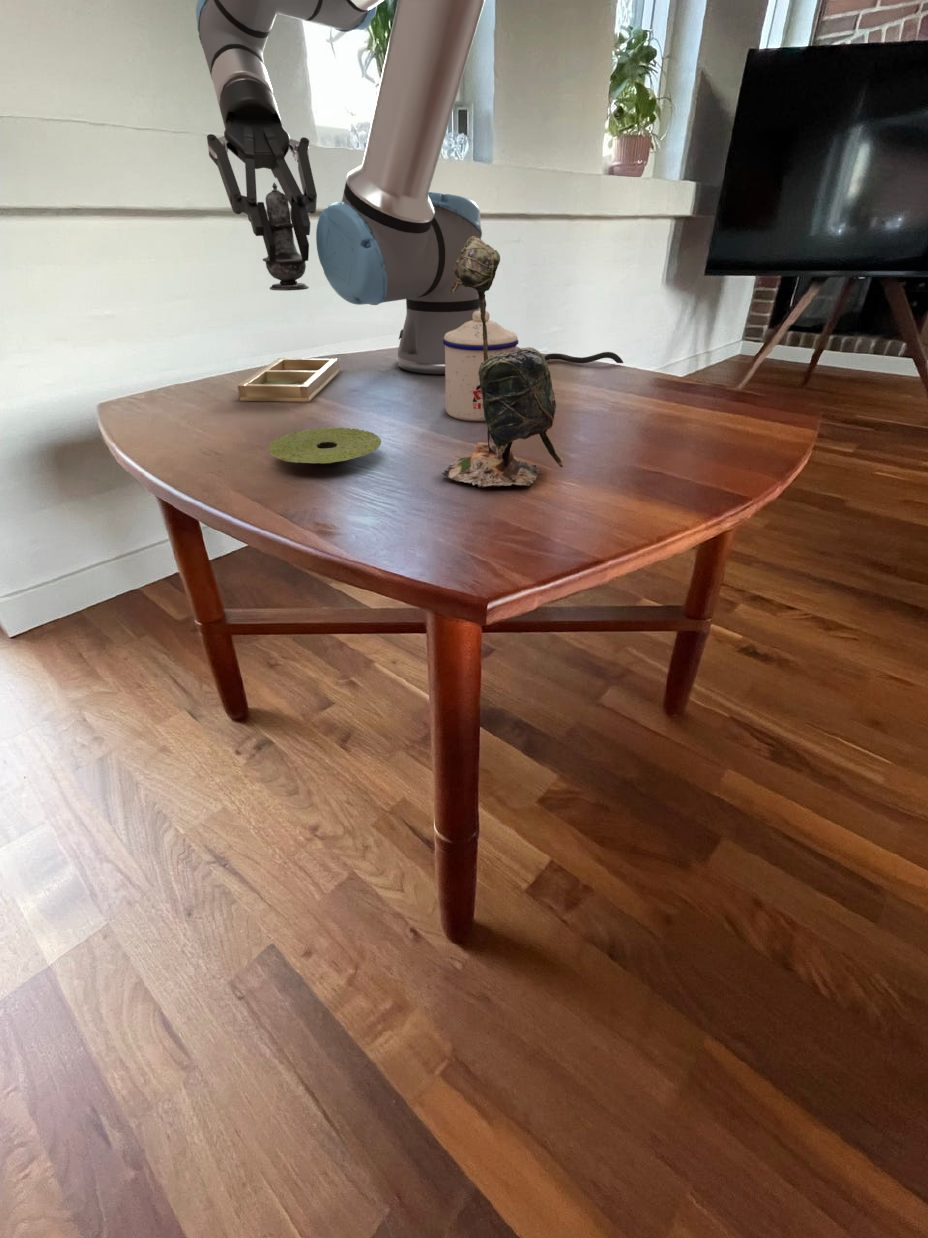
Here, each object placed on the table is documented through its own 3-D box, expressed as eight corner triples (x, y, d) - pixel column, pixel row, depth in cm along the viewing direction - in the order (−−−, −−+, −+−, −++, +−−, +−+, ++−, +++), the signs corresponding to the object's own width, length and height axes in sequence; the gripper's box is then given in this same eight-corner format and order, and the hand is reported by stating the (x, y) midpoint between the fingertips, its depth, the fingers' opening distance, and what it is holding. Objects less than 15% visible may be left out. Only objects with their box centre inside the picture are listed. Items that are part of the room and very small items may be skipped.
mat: (304, 491, 57) (301, 470, 56) (253, 459, 64) (250, 440, 63) (404, 463, 63) (402, 445, 62) (347, 437, 70) (345, 420, 69)
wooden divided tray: (339, 371, 98) (337, 358, 97) (309, 401, 83) (307, 386, 82) (280, 371, 98) (278, 357, 97) (240, 400, 83) (237, 385, 82)
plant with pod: (531, 507, 54) (549, 239, 43) (429, 479, 59) (421, 235, 48) (574, 479, 59) (599, 235, 48) (477, 456, 65) (479, 232, 54)
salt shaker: (296, 285, 89) (282, 183, 82) (319, 288, 85) (306, 182, 78) (259, 288, 85) (241, 182, 79) (281, 291, 82) (265, 181, 75)
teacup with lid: (477, 427, 73) (478, 319, 67) (429, 411, 79) (426, 310, 72) (545, 409, 80) (552, 309, 73) (496, 395, 85) (499, 302, 79)
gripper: (308, 133, 89) (349, 272, 86) (186, 129, 84) (225, 277, 81) (310, 79, 82) (355, 228, 79) (177, 71, 77) (219, 230, 74)
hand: (289, 252), depth 80 cm, fingers closed on salt shaker, 4 cm apart
